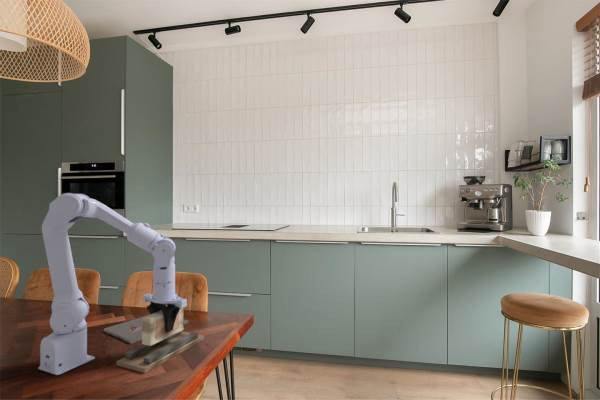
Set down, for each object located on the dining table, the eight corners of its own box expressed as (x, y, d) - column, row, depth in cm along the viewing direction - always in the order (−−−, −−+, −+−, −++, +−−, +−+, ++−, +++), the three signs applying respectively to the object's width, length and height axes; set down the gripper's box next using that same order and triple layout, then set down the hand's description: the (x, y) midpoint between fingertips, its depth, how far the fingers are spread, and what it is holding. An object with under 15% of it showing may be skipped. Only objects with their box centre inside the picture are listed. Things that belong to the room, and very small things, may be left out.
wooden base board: (144, 373, 82) (144, 362, 82) (116, 365, 86) (116, 355, 86) (204, 339, 102) (204, 330, 102) (179, 333, 106) (179, 326, 106)
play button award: (187, 320, 115) (130, 340, 99) (187, 324, 115) (130, 345, 99) (160, 311, 125) (103, 328, 108) (160, 315, 125) (103, 333, 108)
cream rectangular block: (150, 346, 88) (150, 319, 88) (142, 344, 89) (142, 317, 89) (183, 329, 99) (183, 306, 99) (175, 328, 100) (175, 304, 100)
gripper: (194, 280, 95) (194, 328, 95) (156, 276, 101) (156, 321, 101) (176, 286, 88) (176, 338, 88) (136, 281, 94) (136, 329, 94)
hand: (164, 330), depth 94 cm, fingers closed on cream rectangular block, 3 cm apart
